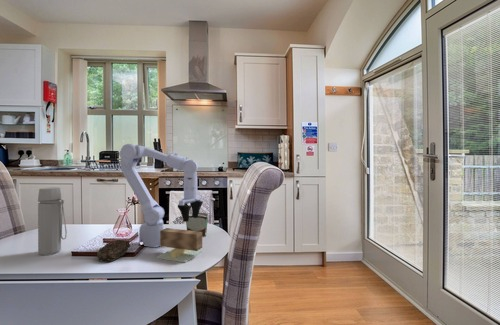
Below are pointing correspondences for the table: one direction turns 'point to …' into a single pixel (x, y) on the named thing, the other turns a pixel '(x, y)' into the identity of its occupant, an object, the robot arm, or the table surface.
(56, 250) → the water bottle
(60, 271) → the table surface
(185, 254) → the ridge stand
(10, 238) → the table surface
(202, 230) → the food container
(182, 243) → the walnut bar
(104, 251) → the dark brown rock
